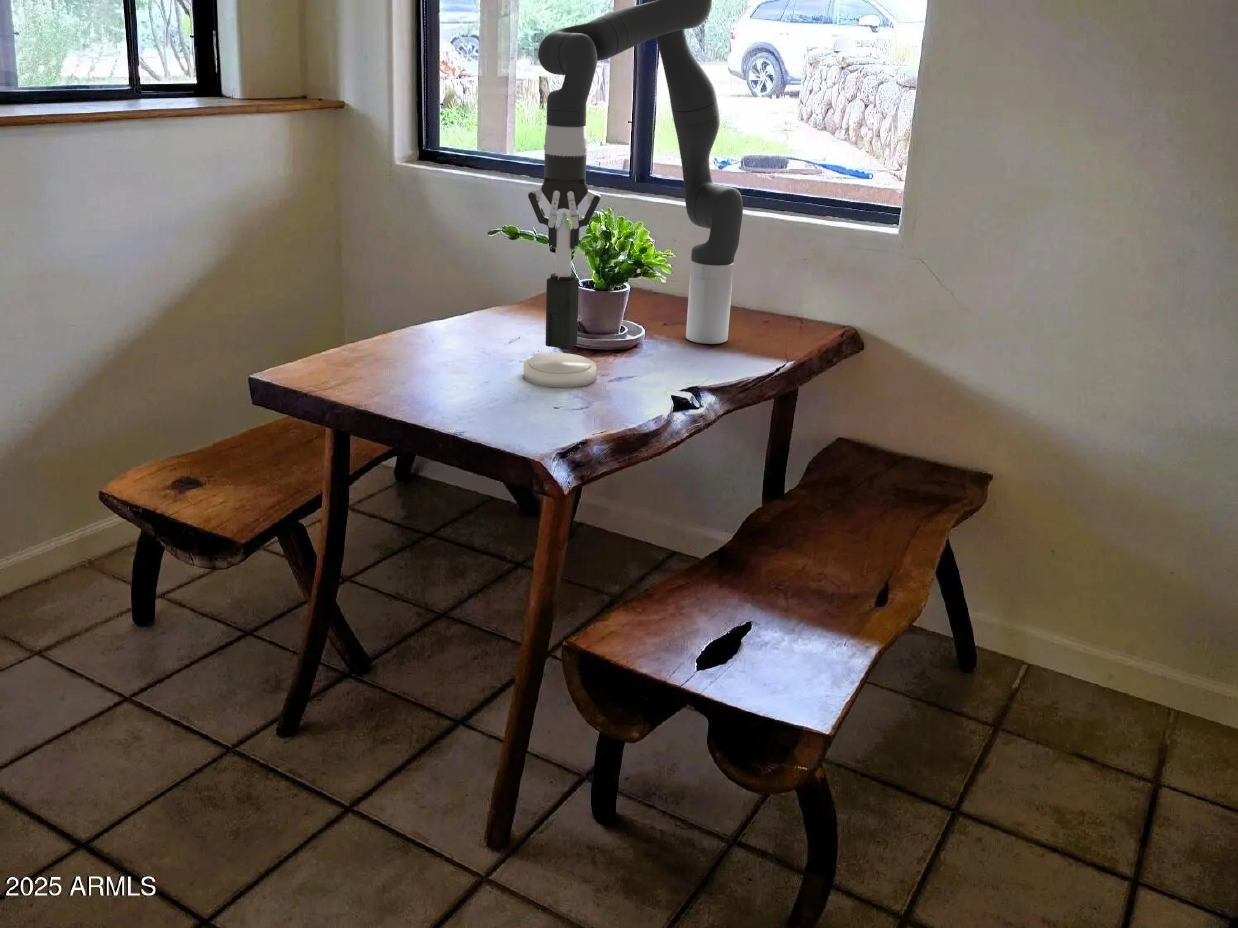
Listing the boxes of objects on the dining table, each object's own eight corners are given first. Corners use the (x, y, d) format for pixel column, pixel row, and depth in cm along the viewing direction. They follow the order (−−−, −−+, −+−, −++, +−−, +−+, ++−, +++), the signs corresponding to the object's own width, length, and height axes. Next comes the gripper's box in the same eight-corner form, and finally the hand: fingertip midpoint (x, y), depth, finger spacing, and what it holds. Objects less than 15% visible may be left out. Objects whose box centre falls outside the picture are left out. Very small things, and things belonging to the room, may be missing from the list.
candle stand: (528, 364, 224) (528, 349, 223) (598, 368, 223) (599, 353, 222) (518, 385, 211) (519, 370, 210) (593, 389, 210) (593, 374, 209)
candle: (579, 343, 216) (583, 212, 207) (567, 349, 212) (570, 216, 202) (555, 339, 218) (558, 209, 209) (543, 345, 214) (545, 213, 204)
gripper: (605, 151, 205) (602, 246, 211) (529, 147, 205) (528, 242, 212) (603, 156, 198) (599, 253, 204) (523, 152, 198) (523, 249, 205)
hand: (563, 247), depth 208 cm, fingers closed on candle, 3 cm apart
